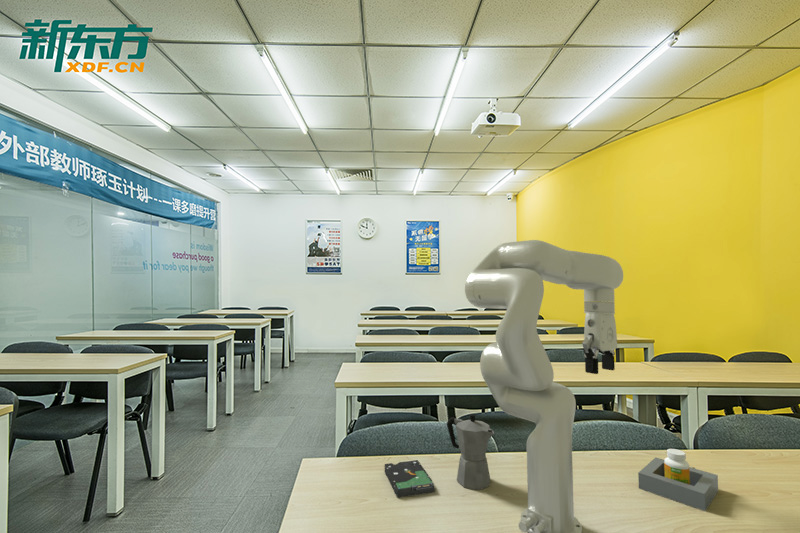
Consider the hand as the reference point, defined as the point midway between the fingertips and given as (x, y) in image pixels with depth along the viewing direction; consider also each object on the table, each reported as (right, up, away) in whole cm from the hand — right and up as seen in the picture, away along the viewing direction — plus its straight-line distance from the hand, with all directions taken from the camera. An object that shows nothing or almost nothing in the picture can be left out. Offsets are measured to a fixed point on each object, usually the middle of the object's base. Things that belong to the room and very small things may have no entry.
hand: (600, 371), depth 106 cm
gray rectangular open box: (+21, -30, -2) cm, 37 cm away
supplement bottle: (+18, -30, -5) cm, 35 cm away
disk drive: (-53, -31, 0) cm, 61 cm away
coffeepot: (-35, -30, +1) cm, 47 cm away
